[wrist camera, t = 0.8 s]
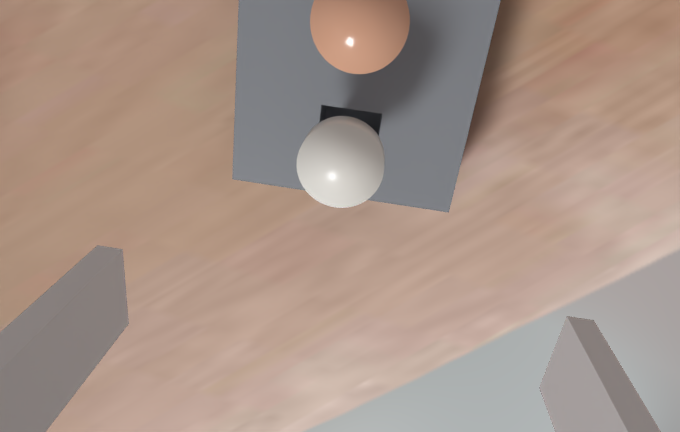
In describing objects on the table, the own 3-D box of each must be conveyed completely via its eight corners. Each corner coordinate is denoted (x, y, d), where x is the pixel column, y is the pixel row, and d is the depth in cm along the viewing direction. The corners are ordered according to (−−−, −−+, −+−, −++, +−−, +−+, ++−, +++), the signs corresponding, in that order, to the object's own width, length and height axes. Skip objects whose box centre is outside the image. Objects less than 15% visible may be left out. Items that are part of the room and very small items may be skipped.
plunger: (308, 166, 29) (292, 200, 25) (315, 95, 28) (300, 117, 23) (378, 176, 29) (376, 213, 25) (390, 106, 28) (391, 131, 23)
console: (249, 158, 33) (232, 179, 30) (268, -222, 25) (247, -257, 21) (442, 187, 33) (448, 212, 29) (529, -188, 24) (554, -218, 21)
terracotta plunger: (320, 52, 27) (305, 66, 22) (329, -36, 25) (315, -40, 20) (398, 63, 27) (400, 80, 22) (413, -24, 25) (418, -26, 20)
